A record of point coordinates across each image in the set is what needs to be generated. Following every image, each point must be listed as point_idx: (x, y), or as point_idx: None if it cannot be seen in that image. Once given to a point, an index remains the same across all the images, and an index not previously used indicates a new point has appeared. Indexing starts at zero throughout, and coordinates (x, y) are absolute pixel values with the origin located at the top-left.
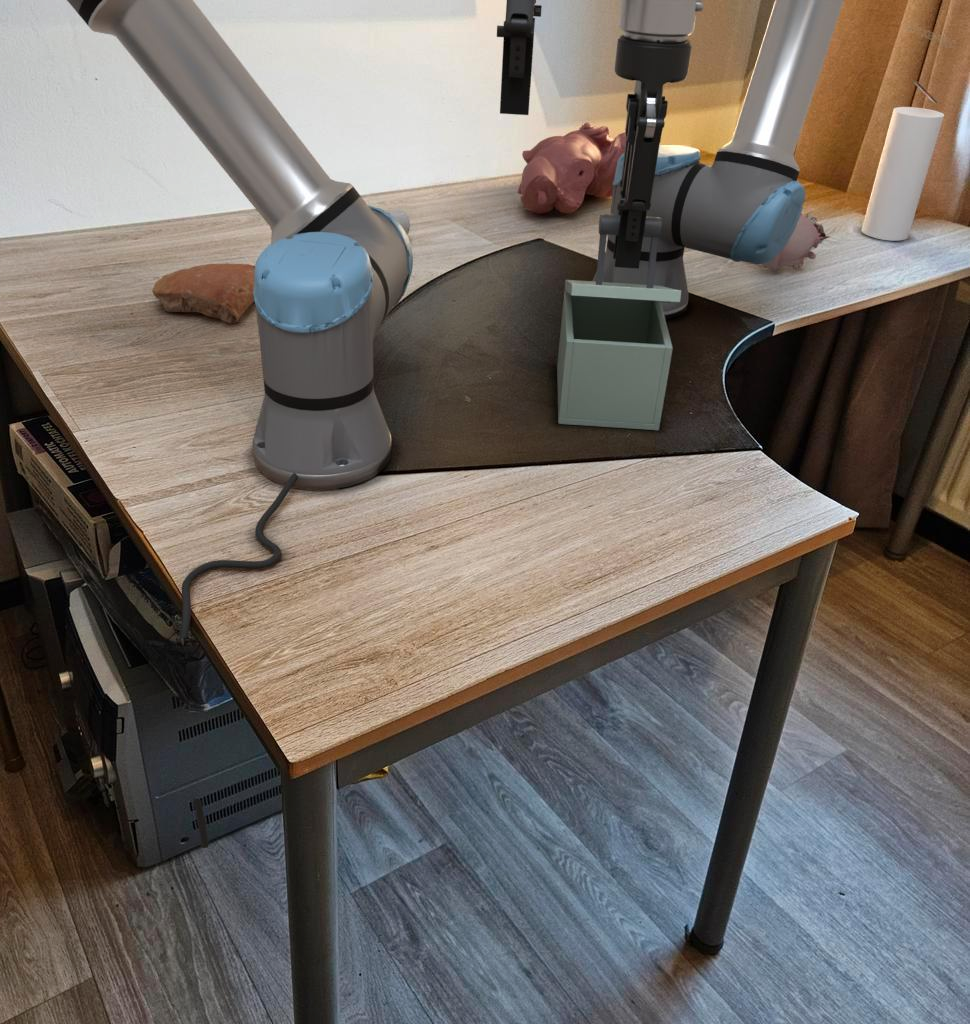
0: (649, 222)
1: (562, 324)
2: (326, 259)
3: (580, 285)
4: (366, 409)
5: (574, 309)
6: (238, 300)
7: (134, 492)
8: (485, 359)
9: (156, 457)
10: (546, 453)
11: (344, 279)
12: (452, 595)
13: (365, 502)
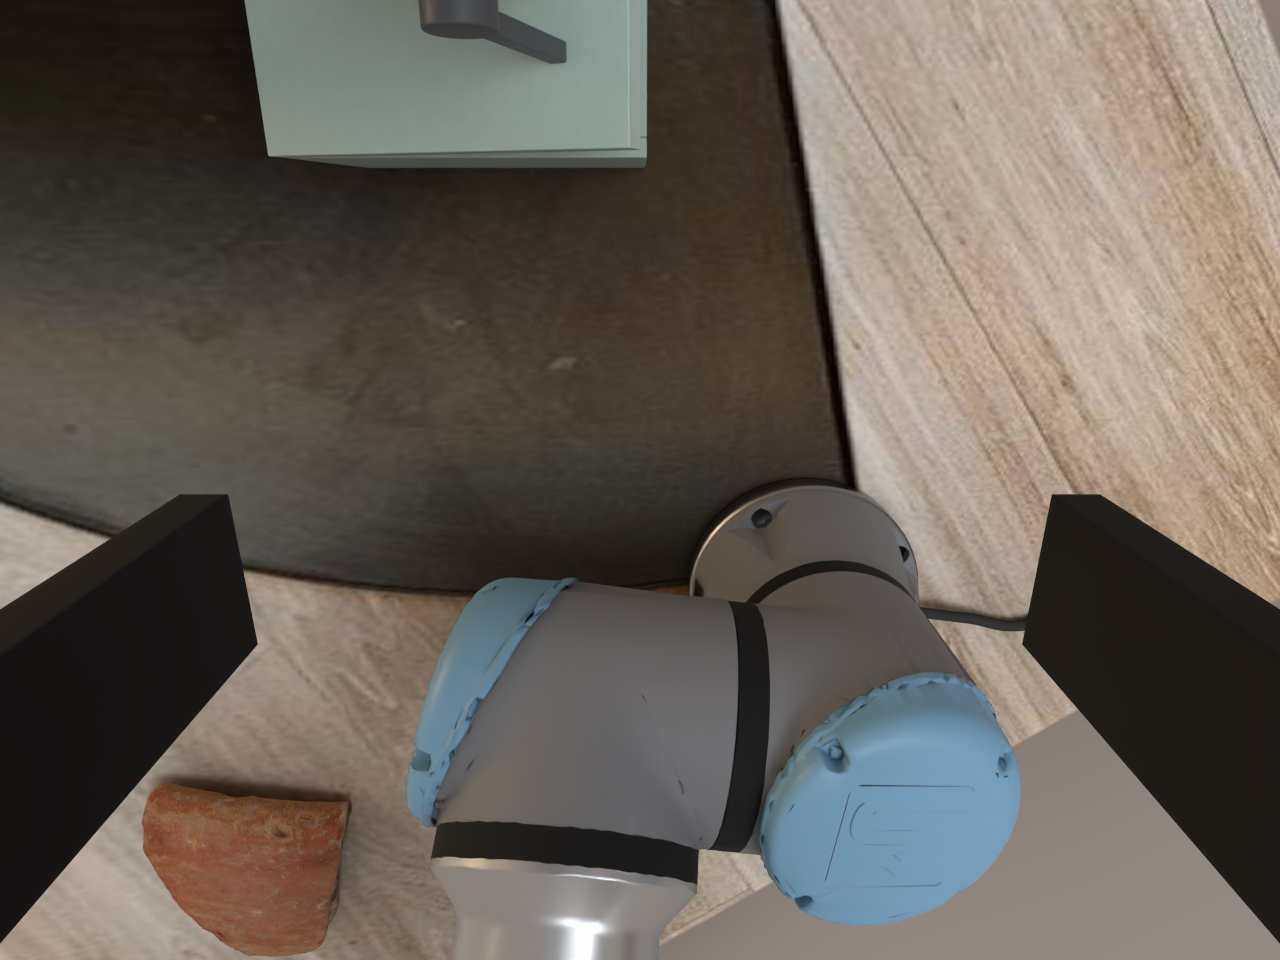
0: None
1: (383, 161)
2: (921, 807)
3: (630, 119)
4: (869, 556)
5: None
6: (313, 825)
7: None
8: (370, 337)
9: None
10: (766, 194)
11: (996, 748)
12: (1190, 343)
13: (937, 497)
